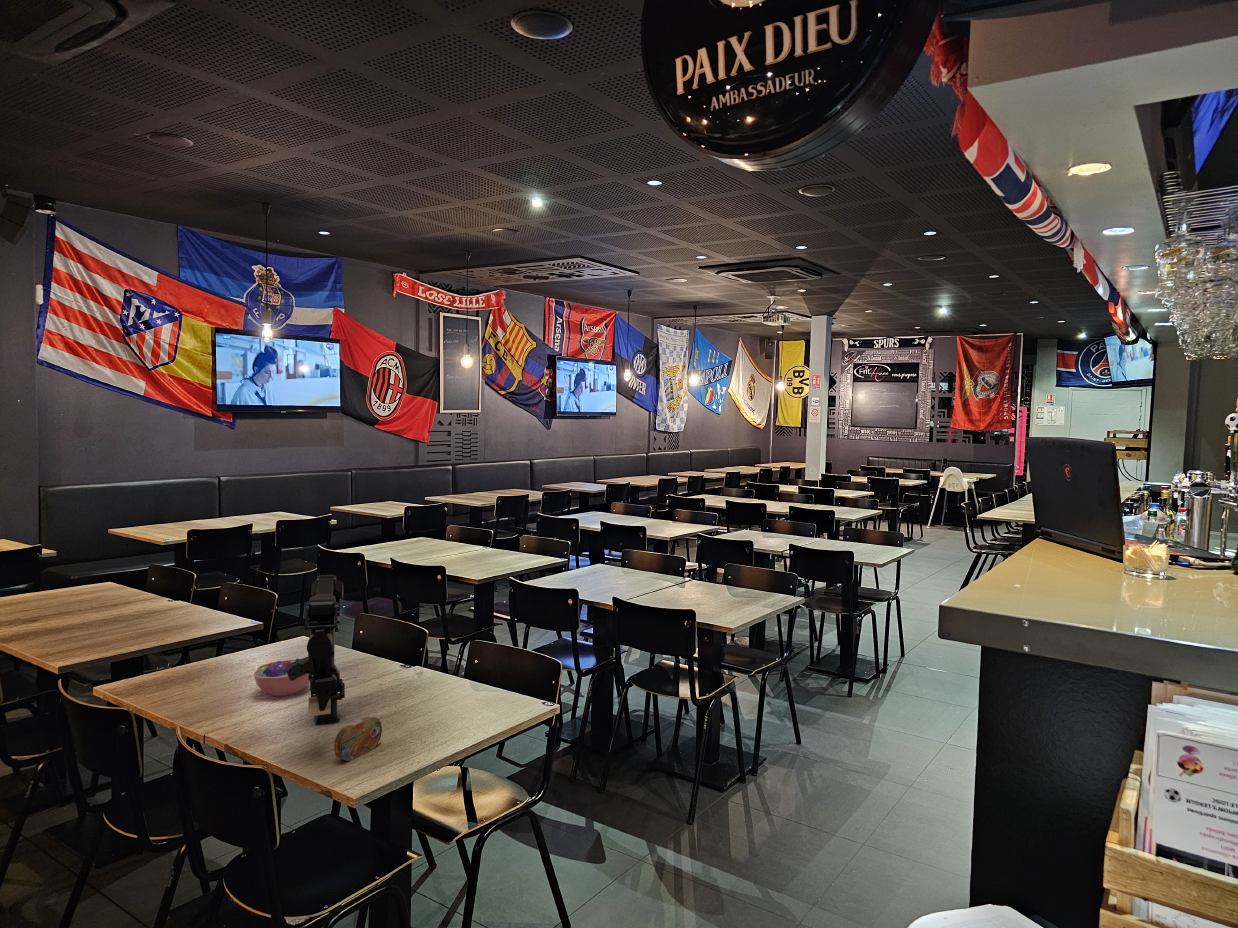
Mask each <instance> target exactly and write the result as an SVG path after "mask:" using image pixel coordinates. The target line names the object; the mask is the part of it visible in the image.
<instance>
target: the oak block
mask: <svg viewBox="0 0 1238 928" xmlns="http://www.w3.org/2000/svg"><path fill="white" fill-rule="evenodd" d="M307 705H308V709H307V710H308V716H309V717H314V716H316V715H323V714H331V700H330V699H329V701H328V703H327V706H326V708H325V710H324V711H320V709H319V704H318V699H317V697H311V696H310V697H308V703H307Z"/></svg>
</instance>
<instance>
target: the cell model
mask: <svg viewBox="0 0 1238 928" xmlns="http://www.w3.org/2000/svg"><path fill="white" fill-rule="evenodd" d="M300 659H301V658H298V657H297V658H295V659H288V660H277V661H274V662H268V663H265V664H262V665H259V666H258V667H257V670H256V671H255V672H254V673H253V677H254V680H255V685H256V687H258V688H259V689H260V690H261V691H262V692H263V693H265V694H266V695H270V696H272V697H276V698H278V697H279V698H280V697H286V696H290V695H293V694H296V693H298V692H300V691H301V690H302V689H304V688H305V687H306V686H308V685H309V684H310V680H309V679H308V676H309V674H305V675H303V676H300V677H298V678H296V680H293V681H290V679H289V677H288V674H287V672H286V666H287V665H288V664H290V663H293V662H295V661H297V660H300Z"/></svg>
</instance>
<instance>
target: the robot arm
mask: <svg viewBox="0 0 1238 928" xmlns="http://www.w3.org/2000/svg"><path fill="white" fill-rule="evenodd" d="M342 600H344V583H343V581H342V580H340V579H338V578H337V575H334V574H326V575H325V574H322V575H321V574H320V575H319V576H318V575H317V576H316V580H315V581H313V582H312V583H311V597H310V598H309V600H308V603H306V604H305V614H304V615H305V618H304V631H306V630H309V638H308V639H307V640H308V641H307V643H306V652H307V656H306V657H302V658H299V659H300V660H297V661H295V662H293V663H290V664H288V665H287V666H286V672H287V674H288V677H289V679H290V681H293V680H296V678H298V677H300V676H303V675H305V674H309V676H308V679H309V680H310V682H309V689H310V697H317V699H318V704H319V709H320V711H324V710H325V708H326V706H327V703H328V701H329V699H330V700H331V714H323V715H316V716H313V720H314V723H315V725H324V724H330V723H331V724H332V723H337V722H340V721H341V719H340V716H339V713H338V701H339V700H340V701H342V700H343V699H344V698H345V697H346V693H345V692H346V689H345V687H346V686H345V685H346V683H345V682H344V680H343V678H341V672H340V670H339V669H338V667H337V665H336V663H335V653H336V652H335V647H336V646H335V645H336V644H335V643H336V642H335V638H336V637H335V636H336V635H335V634H336V631H335V630H336V629H337V628H338V624H341V603H342Z"/></svg>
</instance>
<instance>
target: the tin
mask: <svg viewBox="0 0 1238 928" xmlns="http://www.w3.org/2000/svg"><path fill="white" fill-rule="evenodd" d="M382 733H383V726H382V723H381V720H380V719H379V718H378V717H376V716H373V717H372V716H371V717H370V716H365V717H362V718H361V719H359V720H356V721H354V722H352V723H350V724H348V725H346V726H344V727H342V728H340V730H339V731H338V732H337V735H336V737H335V738H334V744H333V745H334V749H333V750H334V754H335V756H336V758H337V759H339V760H342V761H346V762H351V761H354V760H356V759H357V758H359V757H361V756H362V755H364V754H366V753H368V752H370V751H372V750H374V749H376V747H377V746H378V744H379V742H380V741H381V737H382Z"/></svg>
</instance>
